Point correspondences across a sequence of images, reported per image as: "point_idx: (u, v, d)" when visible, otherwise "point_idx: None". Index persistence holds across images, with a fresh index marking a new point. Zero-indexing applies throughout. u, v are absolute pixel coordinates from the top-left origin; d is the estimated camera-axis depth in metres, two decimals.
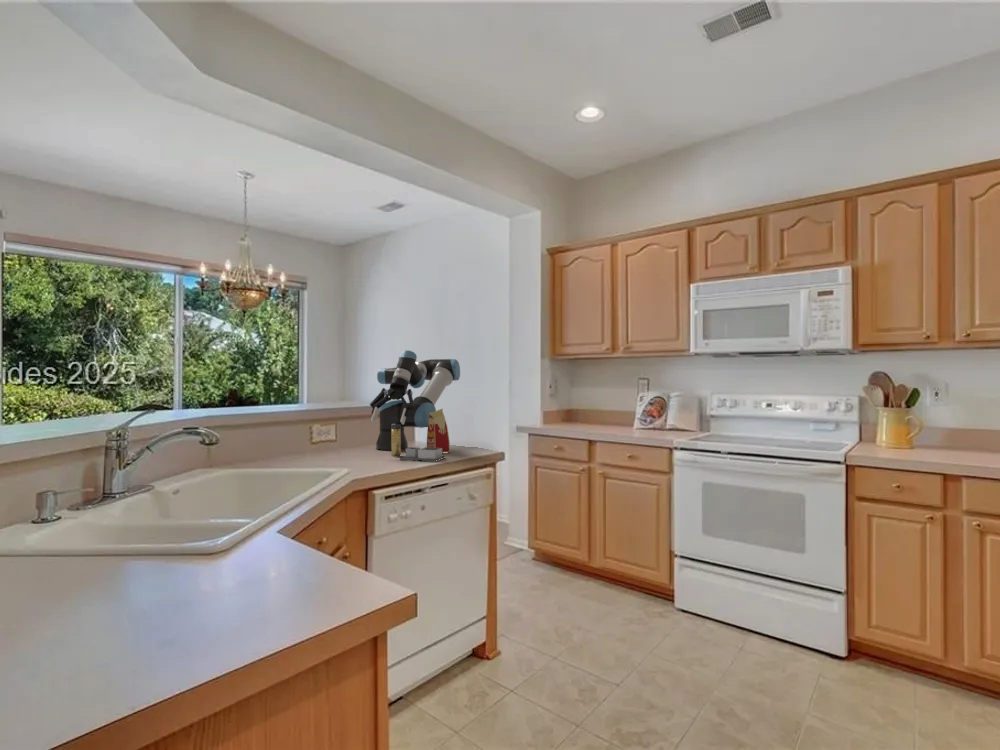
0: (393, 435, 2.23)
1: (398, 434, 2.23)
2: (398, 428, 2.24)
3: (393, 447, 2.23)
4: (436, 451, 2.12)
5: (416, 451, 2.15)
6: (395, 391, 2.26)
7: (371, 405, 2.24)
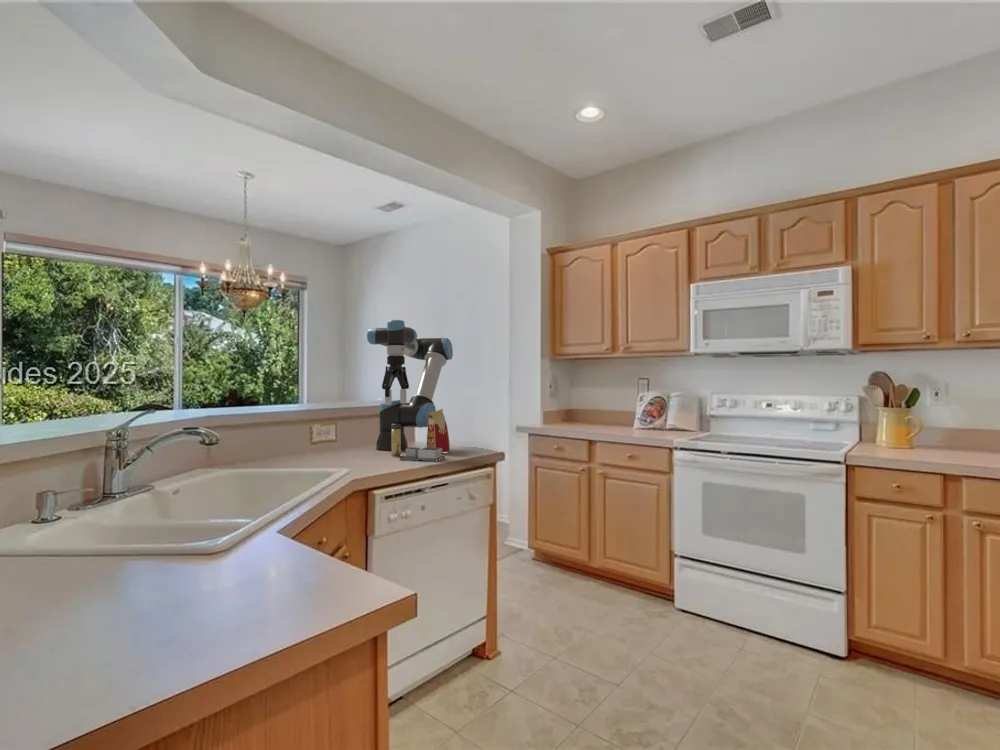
0: (393, 435, 2.23)
1: (398, 434, 2.23)
2: (398, 428, 2.24)
3: (393, 447, 2.23)
4: (436, 451, 2.12)
5: (416, 451, 2.15)
6: None
7: (387, 387, 2.16)
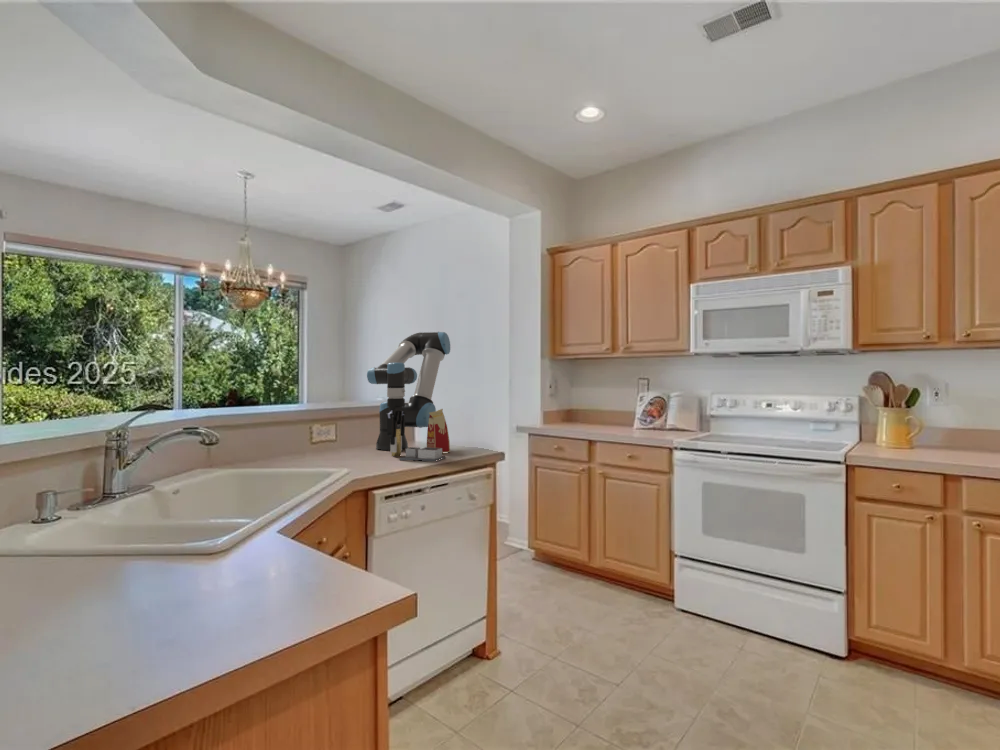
0: None
1: (398, 434, 2.24)
2: (398, 428, 2.24)
3: None
4: (436, 451, 2.12)
5: (416, 451, 2.15)
6: None
7: (393, 435, 2.20)
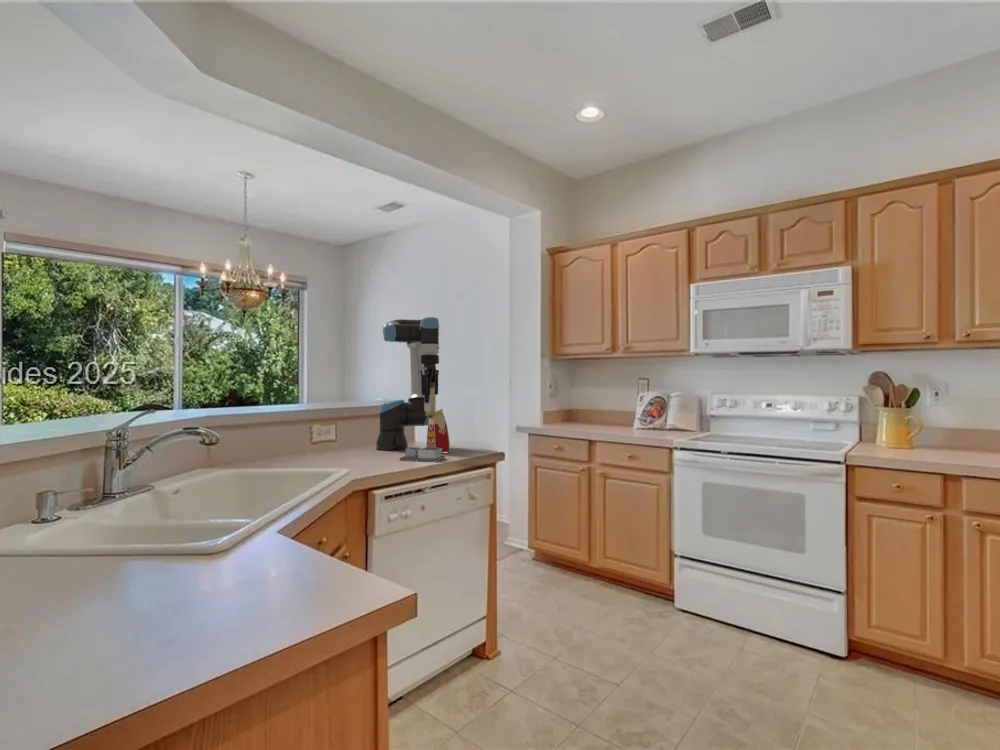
0: None
1: (432, 392, 2.14)
2: (432, 386, 2.14)
3: None
4: (436, 451, 2.12)
5: (416, 451, 2.15)
6: None
7: (427, 393, 2.10)
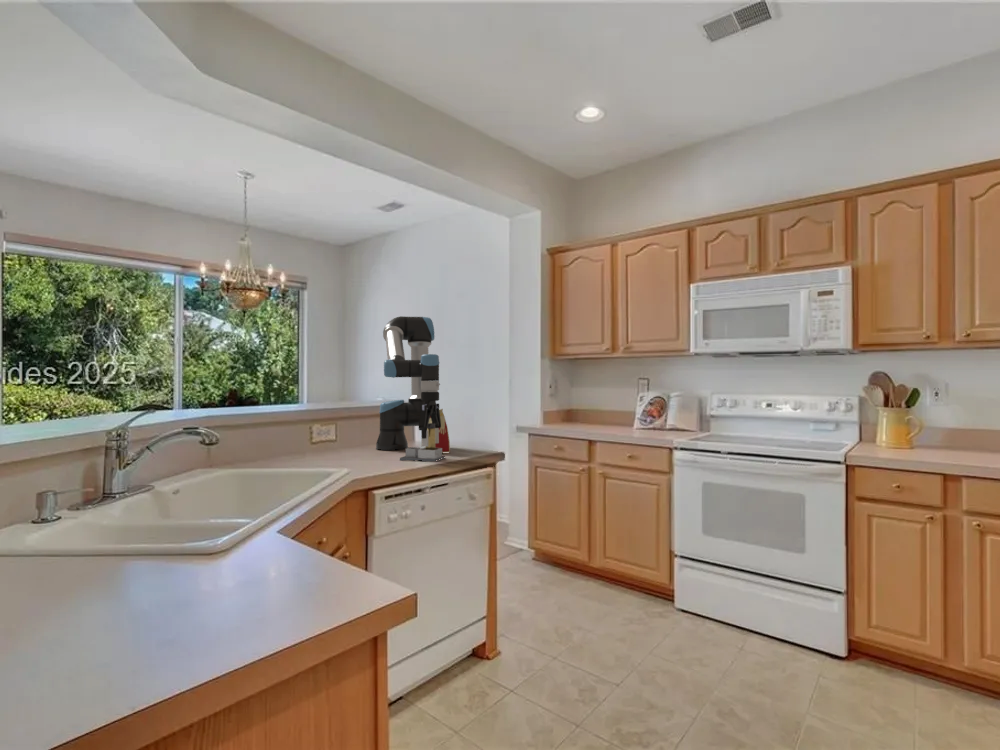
0: None
1: (433, 433, 2.14)
2: (433, 428, 2.14)
3: (427, 447, 2.13)
4: (436, 451, 2.12)
5: (416, 451, 2.15)
6: None
7: (424, 428, 2.07)
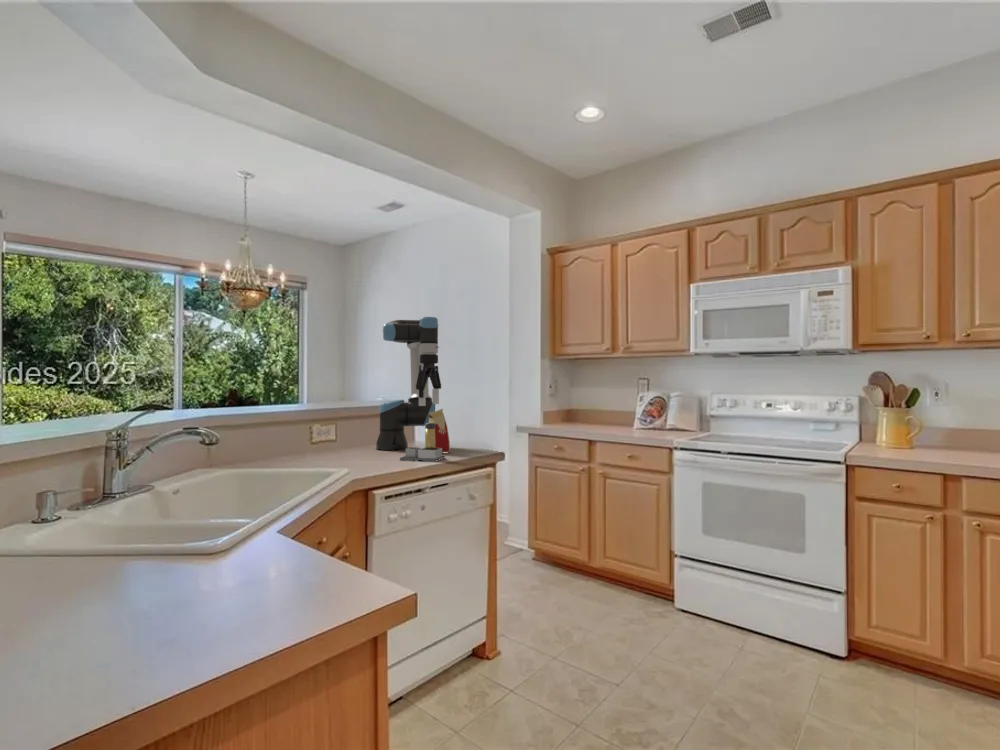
0: (427, 435, 2.13)
1: (432, 433, 2.13)
2: (432, 428, 2.14)
3: (427, 448, 2.13)
4: (436, 451, 2.12)
5: (416, 451, 2.15)
6: None
7: (421, 388, 2.06)
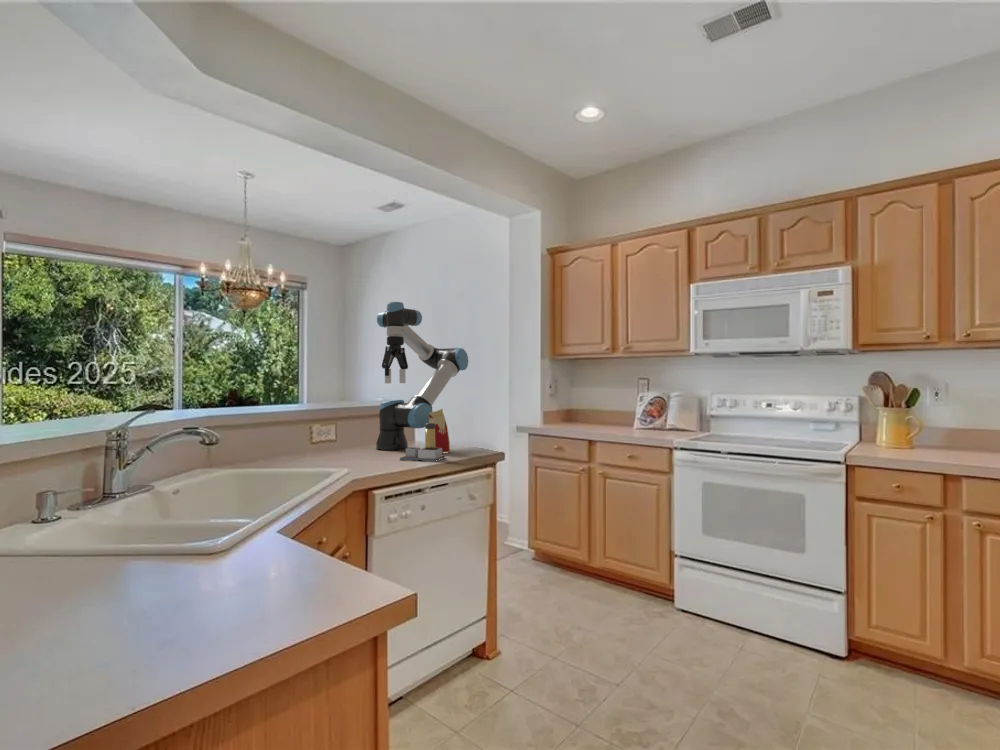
0: (427, 435, 2.13)
1: (433, 433, 2.13)
2: (432, 428, 2.14)
3: (427, 448, 2.13)
4: (436, 451, 2.12)
5: (416, 451, 2.15)
6: None
7: (387, 366, 2.24)
